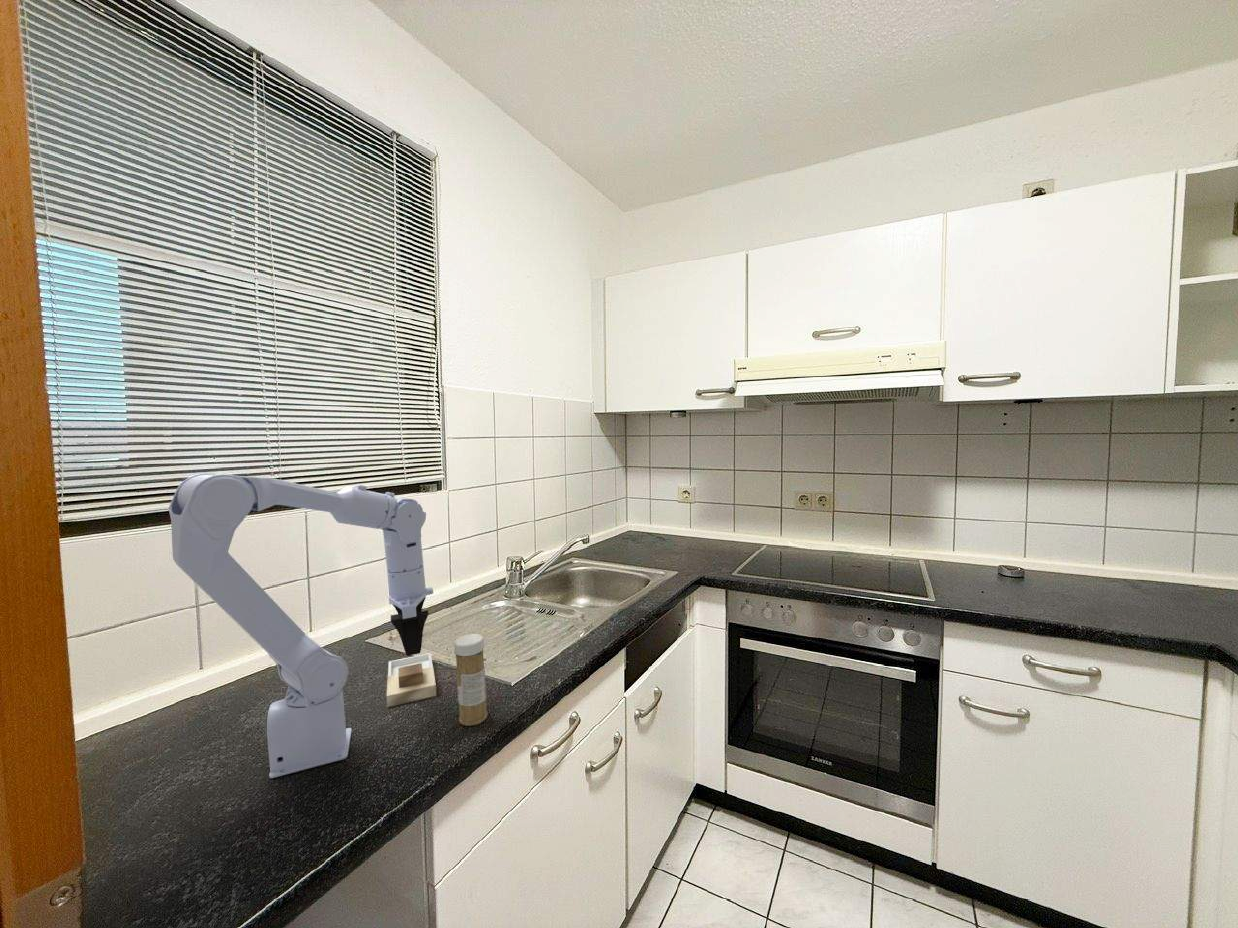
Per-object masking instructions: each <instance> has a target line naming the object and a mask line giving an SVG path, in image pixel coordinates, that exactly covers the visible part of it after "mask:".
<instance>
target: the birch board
mask: <svg viewBox="0 0 1238 928" xmlns="http://www.w3.org/2000/svg"><path fill="white" fill-rule="evenodd" d="M434 670H435V669H434V666H433V667H429V668H425V669H422V671H423V683H420V684H415V685H411V686H406V687H402V688H399V677H398V674H396V675H392V676H388V675H387V680H386V681H387V682H386V706H387V708H390V707H394V706H399V705H404V704H407V703H410V702H411V703H412V702H415V701H416V702H417V701H419V700H425V699H428V698H434V697H437V684H436V679H435V677H436V676H435V671H434Z"/></svg>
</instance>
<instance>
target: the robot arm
mask: <svg viewBox="0 0 1238 928" xmlns="http://www.w3.org/2000/svg"><path fill="white" fill-rule="evenodd" d="M275 505H276V506H277V505H278V506H286V507H292V508H293V507H294V508H300V509H305V510H306V509H307V510H313V511H319V512H320V511H321V512H325V513H330V514H331V516H332V517H333V519H334V520H335V522H337V523H339V524H343V525H345V524H346V525H351V526H357V527H363V528H369V529H376V530H382V532H383V533H382V534H383V543H384V554H385V561H386V562H385V563H386V572H387V574H386V575H387V583H388V594H389V595H388V596H387V597H388V602H389V603H391V605H392V606H393V607H394V609H395V611H396V612H397V613H396V614H391V615H390V623H391V624H392V625H393V627H394V628H395V629H396V631H397V632H398V635H399V637H400V640H401V643H402V646H403V649H404V653H405V654H406V656H407V657H411V656H415V655H420V654H421V651H422V647H423V646H422V644H423V633H424V629H425V628H424V627H425V624H426V621H427V619H428V618H429V617H428V616H429V610H427V609H426V610H423V606H424V604H425V603H424V602H425V600H426V597H427V596H428V595H433V594H434V588H433V587H432V586H431V587H426V579H425V578H426V577H425V568H424V567H425V566H424V559H423V548H422V527H423V526H424V524H425V522H426V518H427V513H426V512H425V511H424V510H423V509H424V508H423V507H422V506H421V503H418V501H417V500H415V499H413V498H404V497H395V493H394V492H389V491H386V492H385V493H380V492H376V491H372V490H367V486H365V485H361V484H355V485H354V486H353V487H352V486H346V487H344V488H342V489H341V490H339V491H336V492H334V491H329V490H325V489H323V488H318V487H313V486H308V485H305V484H299V483H295V482H291V481H287V480H284V479H283V480H282V479H278V478H274V477H262V476H260V477H259V476H243V475H241V476H240V475H234V474H228V473H220V474H219V473H218V474H217V473H216V474H215V473H211V472H210V473H208V472H206V473H205V472H203V473H198V474H194V475H191V476H189V477H186V479H184V480H183V481H181V483H180V484H179V485H178V486H177V488H176V490H175V492H174V494H173V497H172V499H171V501H170V504H169V506H168V512H169V517H170V521H171V522H170V526H171V545H172V546H171V547H172V548H171V549H172V559H173V562H175V564H176V566H177V567H178V568H180V569H181V570H182V572H184V574H186V575H187V576H188V578H190V579H191V580H192V581H193V582H194V583H195V584H196V585H197V586H198V587H199V588H200V589H201V590H202V591H203V592H204V593H205V594H206V595H207V596H208V597H209V598H210V599H211V600H213V602H215V604H217V605H218V606H219V608H221V610H223V611H224V612H225V614H226V615H228V616H229V617H230V619H232V620H233V621H234V622H235V623H236V625H238V626H239V627H240V628H241V629H242V630H243V631H245V633H246V634H248V636H249V637H250V638H251V639H252V640H254V641H255V643H257V644H258V646H260V647H261V648H262V649H263V650H264V651H265V652H266V653H267V655H268V657H270V659H271V660H272V661H273V662H274V663H275V665H276V667H277V673H278V677H279V678H280V681H282V682H283V683H285V684H286V685H287V686H288V688H287V690H286V693H285V698H283V699H282V698H281V699H280V700H276V701H273V702H271V703H270V706H269V708H268V711H267V719H266V720H267V721H266V737H267V751H268V759H269V771H270V772H269V774H268V777H269V779H274V778H279V777H282V776H285V775H289V774H293V773H297V772H300V771H305V770H308V769H312V768H315V767H316V768H317V767H321V766H324V765H326V764H327V765H328V764H331V763H334V762H337V761H343V760H346V758H348V755H349V751H350V750H349V749H350V743H351V738H352V731H353V729H352V727H347V728H346V715H345V714H346V713H345V702H344V690H343V689H344V686H345V684H346V683H347V680H348V675H349V666H348V664H347V663H348V662H346V660H345V659H344V658H343V657H341V656H339V655H336V654H333V653H332V652H330V651H328V650H326V649H325V648H323V647H321V645H320V644H319V643H317V642H316V641H315V640H313V639H312V638H311V637H310V636H309V635H308V634H306V633H305V632H304V631H303V630H302V629H301V628H300V627H299V625H297V623H296V622H295V621H294V620H293V619H292V618H291V617H290V616H289V615H288V614H287V613H286V612H285V611H284V610H283V609H282V608H281V607H280V605H278V604H277V602H275V600H274V599H273V598H272V597H271V596H270V595H269V594H268V593H267V592H266V591H265V590H264V589H263V588H262V587H261V586H260V585H259V583H257V581H255V579H253V577H252V576H251V575H250V574H249V573H248V572H247V571H246V570H245V569H244V567H242V566H241V565H240V564H239V563H238V561H237V560H236V559H235V558H234V557H233V556H232V555H231V554H230V552H229V549H230V547H231V544H232V541H233V538H234V535H235V532H236V530H237V529H238V527H239V526H241V524H242V523H243V521H244V520H245V519H246V517H247V516H248V515H249V513H250V512H251V511H255V512H256V511H257V512H260V511H264V510H266V509H268V508H271V507H273V506H275ZM422 610H423V611H422Z"/></svg>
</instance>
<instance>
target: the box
mask: <svg viewBox="0 0 1238 928" xmlns="http://www.w3.org/2000/svg"><path fill="white" fill-rule="evenodd" d="M420 663H422V669H425V668H429V667H433V668H434V665H433V659H432V654H431V652H429V653H422V654H417V655H412V656H407V657H405V658H400V659H394V660H388V664H387V665H388V667H387V668H388V669H387V677H388V676H392V675H396V674H398V673H399V668H401V667H405V666H410V665H415V664H420Z"/></svg>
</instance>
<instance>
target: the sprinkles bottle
mask: <svg viewBox="0 0 1238 928" xmlns="http://www.w3.org/2000/svg"><path fill="white" fill-rule="evenodd" d="M484 640H485V639H484V637H483V636H482V635H481V634H478V633H471V634H466V635H465V634H464V635H461V636H459V637H458V638H456V639H455V640H454V643H453V646H454V648H453V649H454V654H455V656H456V657H455V660H456V683H457V684H456V685H457V687H456V688H457V701H458V702H457V703H458V709H459V710H458V712H459V716H458V718H459V719H458V721H459V723H460V724H461V725H463V726H468V727H469V726H476V725H479V724H481V723H483V722H484V721H485V720H486V719H487V718H488V711H487V700H486V699H487V687H486V670H485V668H486V667H485V663H484V661H485V660H484V659H485V658H484V648H485V644H484Z"/></svg>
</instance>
